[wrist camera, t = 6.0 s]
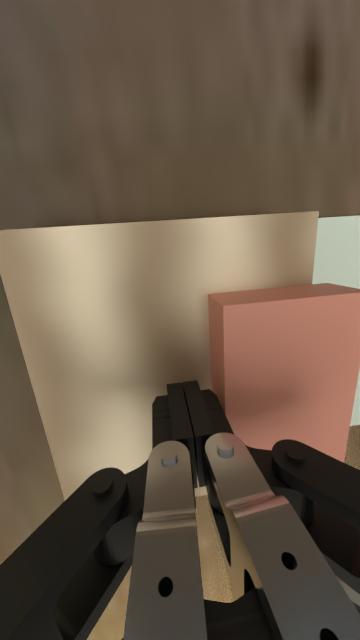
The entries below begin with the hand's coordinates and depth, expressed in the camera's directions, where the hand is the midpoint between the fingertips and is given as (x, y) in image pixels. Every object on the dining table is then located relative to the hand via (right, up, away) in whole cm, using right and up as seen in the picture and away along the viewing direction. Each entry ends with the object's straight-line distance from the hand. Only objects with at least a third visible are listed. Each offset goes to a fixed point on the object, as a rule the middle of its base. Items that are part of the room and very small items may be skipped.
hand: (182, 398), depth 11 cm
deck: (-1, +2, +5) cm, 5 cm away
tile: (+5, +1, 0) cm, 5 cm away
